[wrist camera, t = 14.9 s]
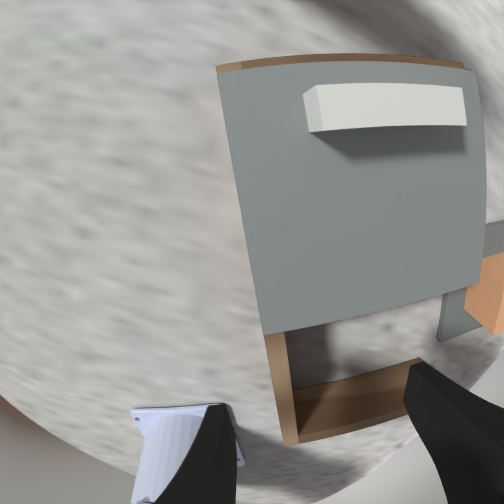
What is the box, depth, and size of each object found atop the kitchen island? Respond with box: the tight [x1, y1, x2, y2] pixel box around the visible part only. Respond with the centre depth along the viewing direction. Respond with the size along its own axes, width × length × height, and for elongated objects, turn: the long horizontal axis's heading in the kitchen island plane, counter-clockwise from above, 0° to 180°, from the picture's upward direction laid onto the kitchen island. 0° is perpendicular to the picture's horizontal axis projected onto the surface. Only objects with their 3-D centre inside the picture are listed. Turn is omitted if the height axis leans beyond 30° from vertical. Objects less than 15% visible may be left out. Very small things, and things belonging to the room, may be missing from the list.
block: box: [464, 252, 504, 335], centre depth 18 cm, size 4×4×4 cm
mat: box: [437, 220, 504, 342], centre depth 20 cm, size 9×8×1 cm
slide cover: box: [217, 61, 486, 335], centre depth 11 cm, size 11×12×3 cm
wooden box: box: [216, 53, 464, 446], centre depth 17 cm, size 22×12×4 cm, turn 9°
